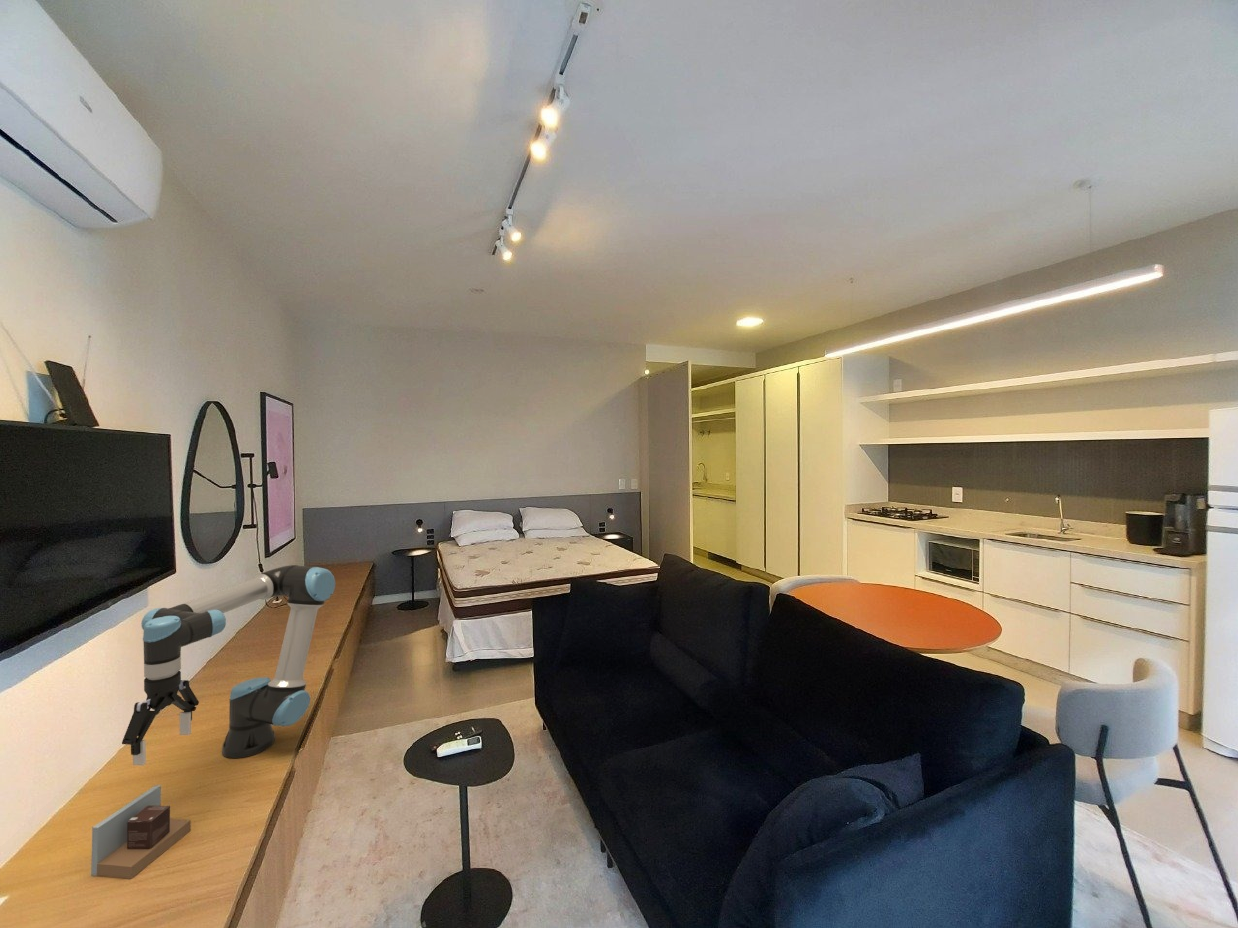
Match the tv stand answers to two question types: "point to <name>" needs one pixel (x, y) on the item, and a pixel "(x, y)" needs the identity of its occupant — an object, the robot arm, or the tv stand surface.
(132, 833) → the box
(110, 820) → the board
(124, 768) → the tv stand surface
